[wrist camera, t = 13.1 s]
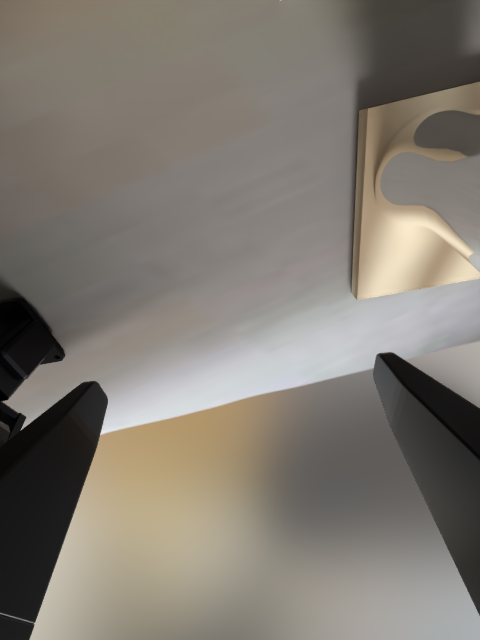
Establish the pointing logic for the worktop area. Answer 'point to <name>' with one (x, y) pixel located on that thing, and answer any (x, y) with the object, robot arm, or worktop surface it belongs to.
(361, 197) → the birch board
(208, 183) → the worktop surface
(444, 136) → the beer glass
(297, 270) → the worktop surface
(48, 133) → the worktop surface
